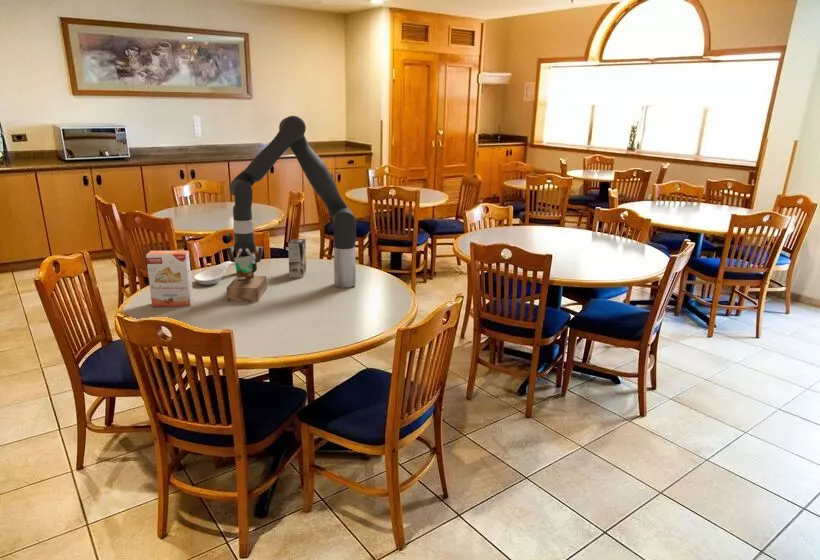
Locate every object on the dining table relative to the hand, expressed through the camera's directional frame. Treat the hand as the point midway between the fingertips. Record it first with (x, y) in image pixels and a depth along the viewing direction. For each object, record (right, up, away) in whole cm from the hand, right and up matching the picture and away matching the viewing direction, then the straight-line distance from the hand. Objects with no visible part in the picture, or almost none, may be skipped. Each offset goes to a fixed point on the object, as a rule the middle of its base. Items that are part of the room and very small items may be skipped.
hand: (246, 271), depth 217 cm
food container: (+1, -3, +1) cm, 3 cm away
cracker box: (-25, -13, -10) cm, 30 cm away
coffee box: (+14, -1, +31) cm, 34 cm away
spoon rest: (-18, -4, +21) cm, 28 cm away
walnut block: (0, -10, +3) cm, 10 cm away
